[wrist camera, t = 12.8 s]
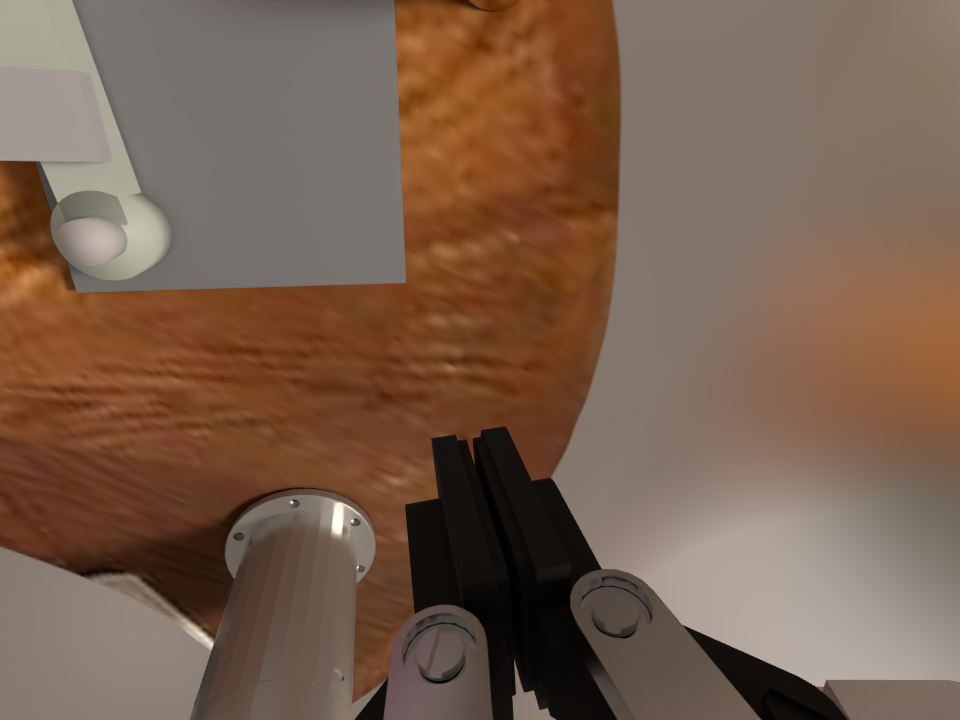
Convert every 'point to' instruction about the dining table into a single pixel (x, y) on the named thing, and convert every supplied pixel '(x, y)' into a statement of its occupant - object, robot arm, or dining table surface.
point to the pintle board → (235, 135)
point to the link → (86, 185)
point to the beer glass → (493, 4)
